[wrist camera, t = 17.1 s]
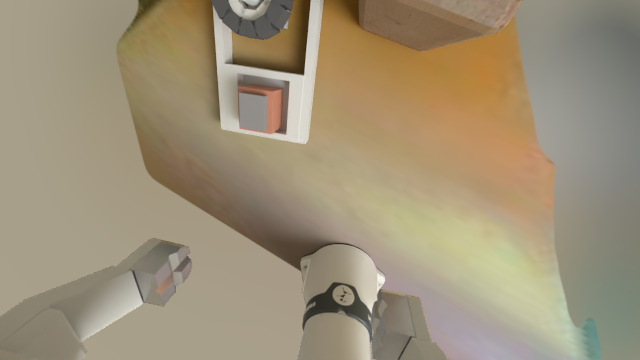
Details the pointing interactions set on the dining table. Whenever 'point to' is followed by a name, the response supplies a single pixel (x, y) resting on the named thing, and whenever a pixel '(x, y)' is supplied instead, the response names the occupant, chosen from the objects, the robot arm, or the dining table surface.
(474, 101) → the dining table surface
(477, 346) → the dining table surface
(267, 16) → the wheel
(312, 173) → the dining table surface
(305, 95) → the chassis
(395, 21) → the wooden block
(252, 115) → the two-tone grey-capped cube
